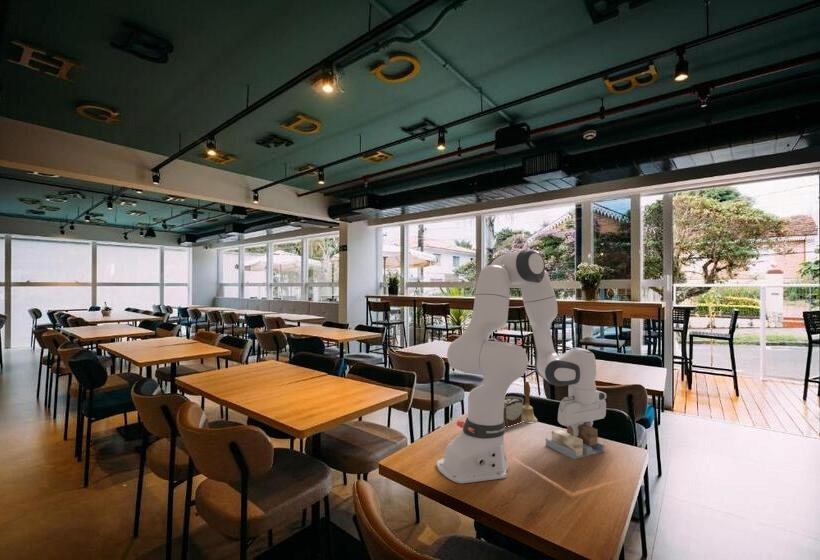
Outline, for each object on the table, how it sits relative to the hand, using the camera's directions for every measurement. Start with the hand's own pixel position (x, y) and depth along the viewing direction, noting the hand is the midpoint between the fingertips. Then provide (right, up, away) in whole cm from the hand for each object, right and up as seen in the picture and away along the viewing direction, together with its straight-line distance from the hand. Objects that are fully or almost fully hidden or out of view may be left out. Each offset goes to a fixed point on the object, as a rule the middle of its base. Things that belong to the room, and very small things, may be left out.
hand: (581, 434), depth 135 cm
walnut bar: (0, -2, 0) cm, 2 cm away
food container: (-20, -5, +23) cm, 31 cm away
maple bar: (-7, -4, -4) cm, 9 cm away
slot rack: (-3, -5, -2) cm, 6 cm away
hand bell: (-11, -5, +28) cm, 30 cm away
